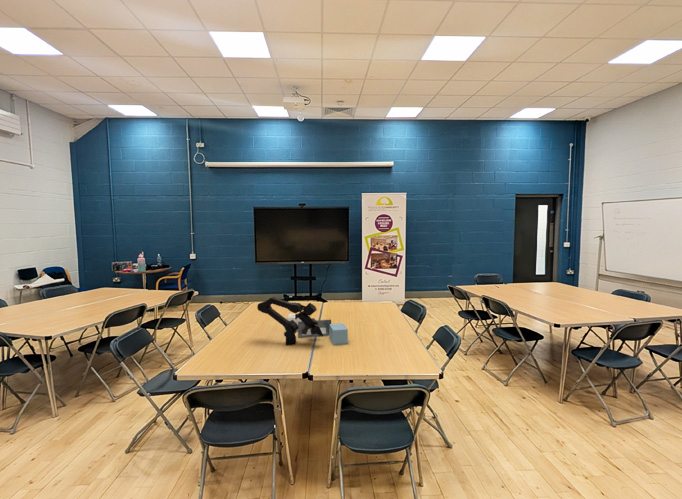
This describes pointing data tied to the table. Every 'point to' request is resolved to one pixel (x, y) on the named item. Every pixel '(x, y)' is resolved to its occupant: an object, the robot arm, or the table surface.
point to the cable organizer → (292, 317)
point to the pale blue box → (338, 334)
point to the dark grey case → (322, 324)
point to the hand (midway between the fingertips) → (321, 333)
